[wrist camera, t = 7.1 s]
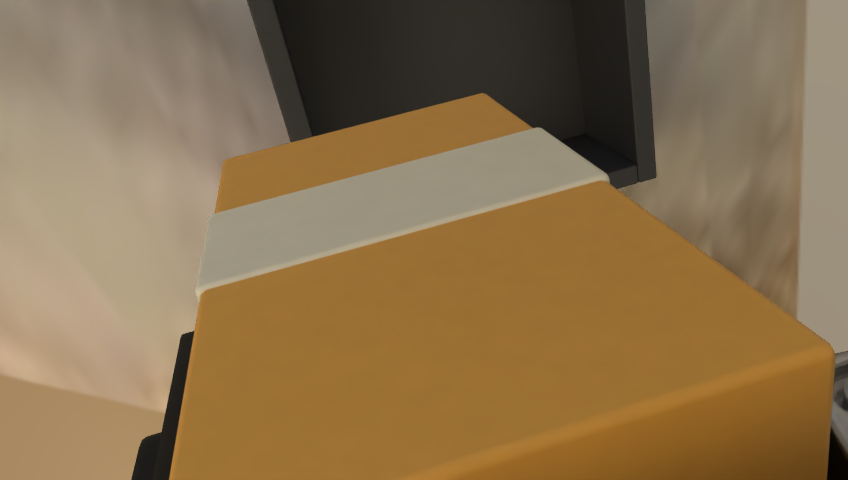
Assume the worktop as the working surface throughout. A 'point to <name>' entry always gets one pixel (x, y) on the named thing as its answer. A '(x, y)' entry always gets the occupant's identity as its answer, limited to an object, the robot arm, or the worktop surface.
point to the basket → (469, 67)
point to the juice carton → (479, 322)
